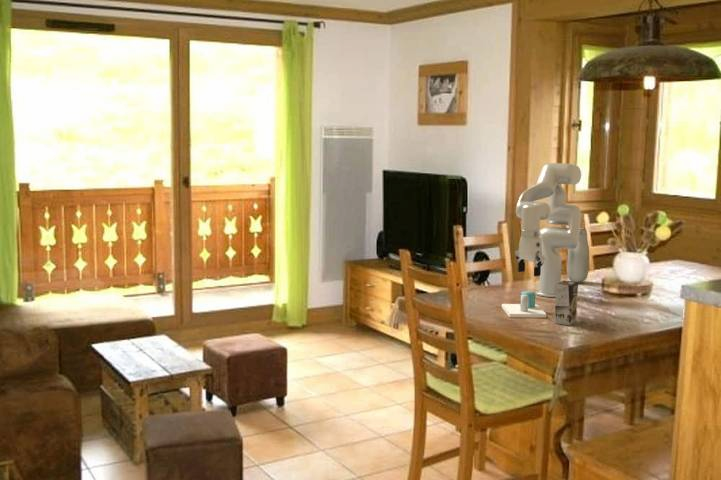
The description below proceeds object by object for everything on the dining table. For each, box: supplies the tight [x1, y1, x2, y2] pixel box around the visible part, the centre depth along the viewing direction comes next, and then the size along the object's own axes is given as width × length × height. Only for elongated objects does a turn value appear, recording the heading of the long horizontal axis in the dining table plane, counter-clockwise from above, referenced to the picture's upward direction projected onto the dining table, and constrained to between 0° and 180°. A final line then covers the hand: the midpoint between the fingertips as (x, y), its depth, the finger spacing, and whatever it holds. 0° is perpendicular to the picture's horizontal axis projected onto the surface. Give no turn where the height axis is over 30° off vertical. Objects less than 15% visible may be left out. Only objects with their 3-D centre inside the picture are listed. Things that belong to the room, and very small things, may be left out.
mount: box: [501, 294, 547, 319], centre depth 327 cm, size 15×18×8 cm
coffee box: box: [554, 280, 579, 326], centre depth 310 cm, size 9×6×16 cm
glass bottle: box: [566, 226, 590, 284], centre depth 390 cm, size 10×10×28 cm
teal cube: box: [519, 290, 536, 308], centre depth 331 cm, size 6×6×6 cm
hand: (529, 273), depth 330 cm, fingers open, 9 cm apart
